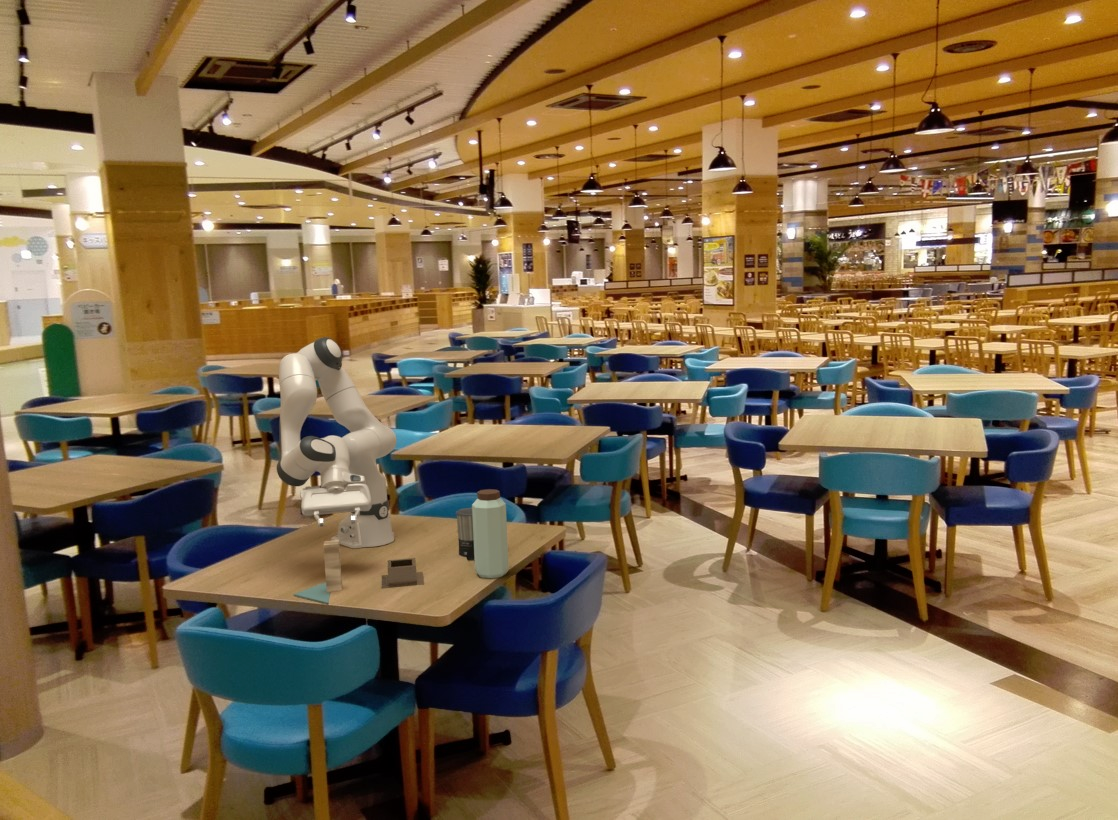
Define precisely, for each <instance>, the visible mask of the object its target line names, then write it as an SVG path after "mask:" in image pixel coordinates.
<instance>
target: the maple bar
mask: <svg viewBox="0 0 1118 820" xmlns="http://www.w3.org/2000/svg"><path fill="white" fill-rule="evenodd" d="M323 558H324V560H323V561H324V572H325V573H324V574H325V582H326V588H327V593H330V594H331V592H339V591H342V590H343V579H342V578H343V577H342V563H341V562H342V561H341V550H340V544H339V540H334V541H331V540H325V541H323Z"/></svg>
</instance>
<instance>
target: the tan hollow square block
mask: <svg viewBox="0 0 1118 820" xmlns="http://www.w3.org/2000/svg"><path fill="white" fill-rule="evenodd" d="M422 585H423V586H424V585H425V580H424V572H423V571H417V564H416V557H411V558H400V559H399V558H398V559H389V560H387V574H383V575H381V585H380V587H381V589H395V588H403V587H414V586H415V587H416V586H422Z"/></svg>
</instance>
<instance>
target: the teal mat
mask: <svg viewBox="0 0 1118 820" xmlns="http://www.w3.org/2000/svg"><path fill="white" fill-rule="evenodd" d="M293 597H297V598H300V597H301V599H305V600H309V601H312V602H317V603H321V604H324V603H325V605H329V602H330V597H331V593H327V588H326V581H324V582H323V583H319V584H317V585H314V586H312V587H309V588H306V589H304V590H301V591H299V592H295V593H293Z"/></svg>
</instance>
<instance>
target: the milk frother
mask: <svg viewBox="0 0 1118 820" xmlns="http://www.w3.org/2000/svg"><path fill="white" fill-rule="evenodd" d="M455 514H456V523H457V537H458V538H457V540H458V555H459V556H461V557H462V558H463V557H464V558H466V560H467V561H471V560H473V561H475V558H474V537H473V516H472V507H466V508H460V509H458V510H456V511H455Z"/></svg>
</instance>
